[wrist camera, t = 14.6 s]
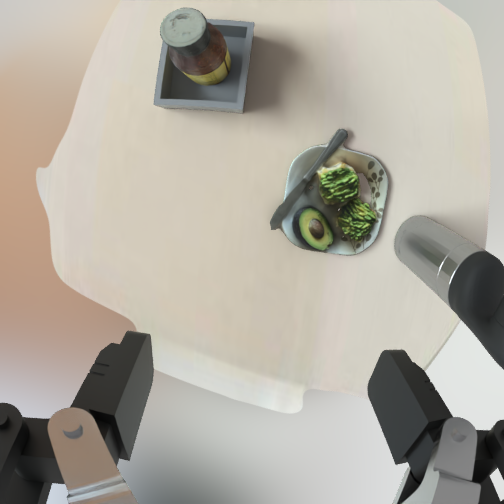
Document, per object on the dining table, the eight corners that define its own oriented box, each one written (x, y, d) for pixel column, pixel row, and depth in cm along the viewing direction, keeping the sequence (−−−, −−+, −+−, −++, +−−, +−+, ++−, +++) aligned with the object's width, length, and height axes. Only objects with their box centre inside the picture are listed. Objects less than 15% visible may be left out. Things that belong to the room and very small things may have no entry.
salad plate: (287, 117, 42) (292, 115, 38) (395, 145, 44) (408, 146, 39) (264, 240, 49) (267, 251, 45) (367, 256, 50) (377, 267, 46)
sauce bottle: (201, 42, 37) (172, -17, 18) (239, 58, 38) (236, 4, 19) (179, 80, 39) (134, 42, 20) (218, 96, 40) (198, 65, 21)
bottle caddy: (253, 35, 37) (254, 22, 32) (242, 113, 42) (242, 109, 36) (175, 31, 36) (167, 19, 31) (164, 108, 41) (153, 104, 35)
